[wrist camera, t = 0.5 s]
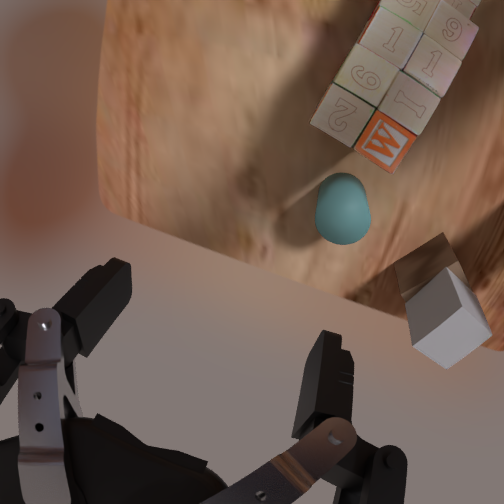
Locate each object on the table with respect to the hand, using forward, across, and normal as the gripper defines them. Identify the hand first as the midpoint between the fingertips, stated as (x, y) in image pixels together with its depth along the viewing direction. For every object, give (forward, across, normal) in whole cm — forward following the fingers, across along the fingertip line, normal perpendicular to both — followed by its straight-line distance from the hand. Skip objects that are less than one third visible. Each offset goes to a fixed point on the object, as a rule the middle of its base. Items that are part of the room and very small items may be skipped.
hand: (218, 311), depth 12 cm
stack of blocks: (+23, -6, -15) cm, 29 cm away
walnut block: (+23, -20, +7) cm, 31 cm away
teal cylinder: (+23, -6, +2) cm, 24 cm away
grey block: (+17, -20, +7) cm, 27 cm away
